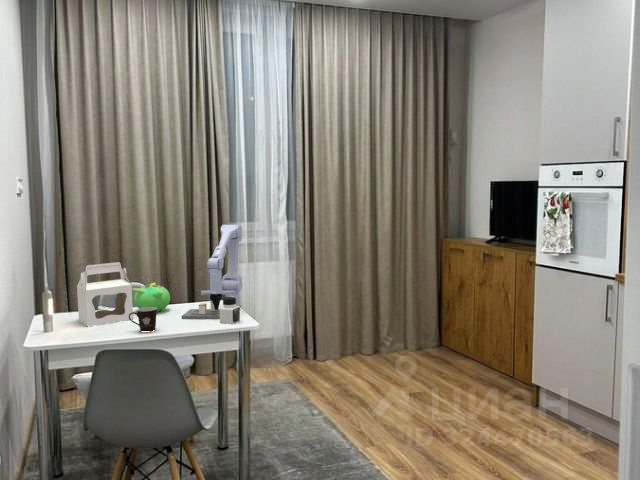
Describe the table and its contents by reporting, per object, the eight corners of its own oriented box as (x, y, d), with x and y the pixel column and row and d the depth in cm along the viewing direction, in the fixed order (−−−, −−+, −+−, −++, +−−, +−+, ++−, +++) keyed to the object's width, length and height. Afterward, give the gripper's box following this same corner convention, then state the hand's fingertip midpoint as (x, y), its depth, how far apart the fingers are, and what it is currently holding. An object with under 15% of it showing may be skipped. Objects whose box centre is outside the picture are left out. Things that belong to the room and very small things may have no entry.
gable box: (87, 327, 270) (83, 267, 267) (78, 322, 280) (75, 264, 277) (133, 319, 284) (131, 262, 281) (123, 314, 294) (121, 260, 291)
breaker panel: (190, 312, 298) (190, 309, 298) (227, 312, 297) (227, 309, 297) (181, 319, 283) (181, 315, 283) (220, 319, 282) (219, 316, 282)
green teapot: (174, 308, 308) (173, 280, 306) (165, 315, 291) (163, 286, 290) (140, 308, 308) (139, 281, 307) (129, 315, 292) (128, 286, 290)
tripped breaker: (200, 312, 288) (200, 303, 288) (206, 312, 288) (206, 303, 288) (198, 314, 285) (198, 304, 285) (205, 314, 285) (204, 304, 284)
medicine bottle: (233, 324, 272) (232, 299, 271) (219, 323, 275) (218, 298, 273) (240, 320, 279) (239, 296, 278) (226, 319, 281) (226, 295, 280)
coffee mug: (161, 329, 265) (160, 307, 264) (151, 333, 257) (150, 311, 256) (139, 327, 268) (138, 306, 267) (128, 332, 260) (127, 310, 259)
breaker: (212, 309, 295) (211, 300, 294) (218, 309, 295) (217, 300, 294) (210, 311, 292) (210, 301, 291) (216, 311, 292) (216, 301, 291)
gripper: (199, 283, 281) (199, 311, 282) (228, 283, 280) (229, 311, 281) (203, 281, 288) (203, 308, 289) (231, 281, 287) (232, 308, 288)
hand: (216, 309), depth 286 cm, fingers closed
